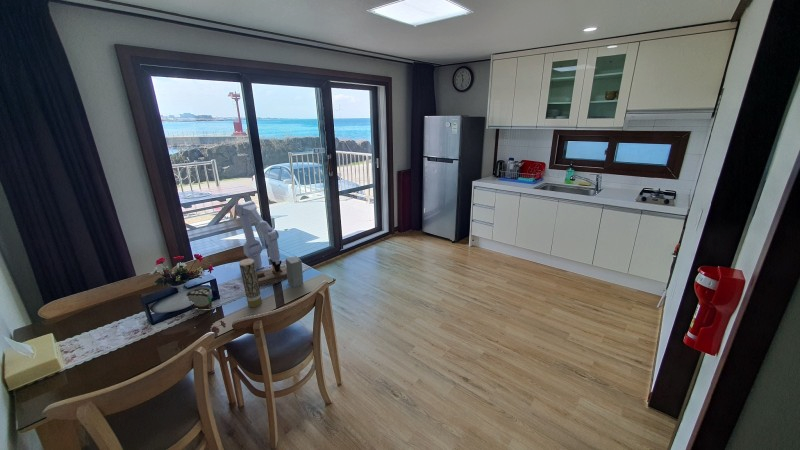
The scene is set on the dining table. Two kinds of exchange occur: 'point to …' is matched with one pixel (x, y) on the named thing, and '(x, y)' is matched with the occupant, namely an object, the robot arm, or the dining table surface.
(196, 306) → the food container
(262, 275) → the bore board
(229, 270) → the dining table surface
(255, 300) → the paper tube
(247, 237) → the robot arm
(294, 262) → the skincare box
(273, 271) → the pin
